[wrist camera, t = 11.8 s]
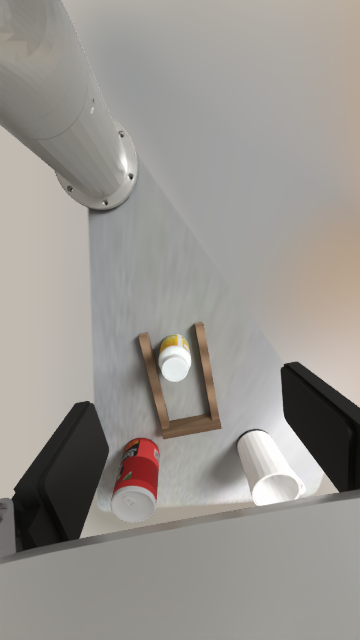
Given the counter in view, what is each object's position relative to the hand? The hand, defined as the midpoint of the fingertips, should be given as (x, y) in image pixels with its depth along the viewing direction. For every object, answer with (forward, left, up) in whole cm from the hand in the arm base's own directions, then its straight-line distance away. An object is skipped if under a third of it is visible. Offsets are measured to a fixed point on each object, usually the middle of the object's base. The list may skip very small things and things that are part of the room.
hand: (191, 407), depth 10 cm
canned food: (+31, -14, -28) cm, 44 cm away
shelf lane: (+15, -2, -28) cm, 32 cm away
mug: (+35, +12, -28) cm, 47 cm away
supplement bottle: (+8, -2, -28) cm, 30 cm away
